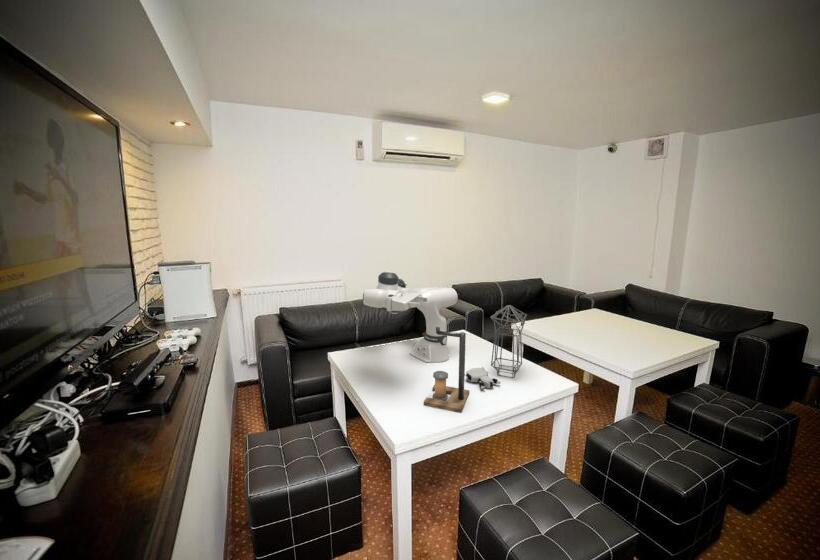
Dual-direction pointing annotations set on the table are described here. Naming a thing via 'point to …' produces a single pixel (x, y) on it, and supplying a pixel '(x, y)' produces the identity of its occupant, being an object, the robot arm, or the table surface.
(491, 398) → the table surface
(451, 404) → the notched board
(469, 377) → the robot toy
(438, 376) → the cord spool
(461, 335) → the hook stand
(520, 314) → the geometric lantern
